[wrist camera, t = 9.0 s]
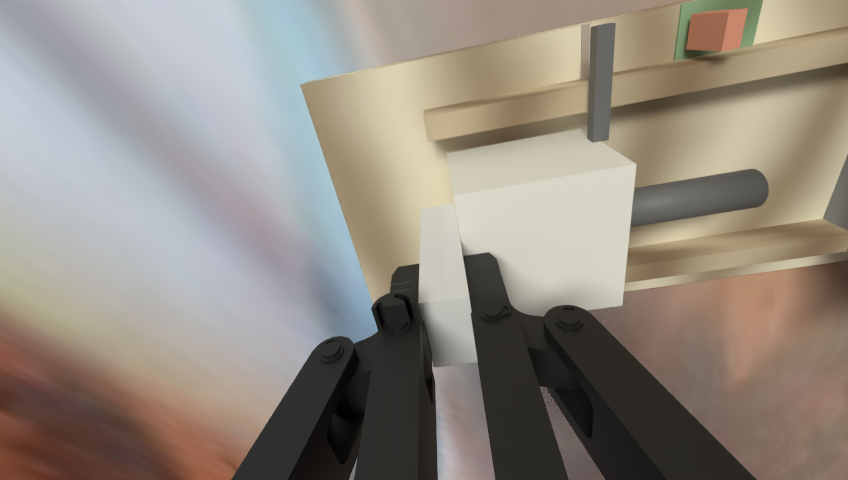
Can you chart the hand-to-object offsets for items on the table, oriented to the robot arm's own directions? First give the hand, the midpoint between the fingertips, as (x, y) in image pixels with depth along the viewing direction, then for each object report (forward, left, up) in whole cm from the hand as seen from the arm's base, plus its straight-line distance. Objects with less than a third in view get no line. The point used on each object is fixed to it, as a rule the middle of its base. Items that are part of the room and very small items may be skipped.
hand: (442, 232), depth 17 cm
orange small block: (+11, +6, -2) cm, 13 cm away
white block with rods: (+7, +2, -2) cm, 7 cm away
